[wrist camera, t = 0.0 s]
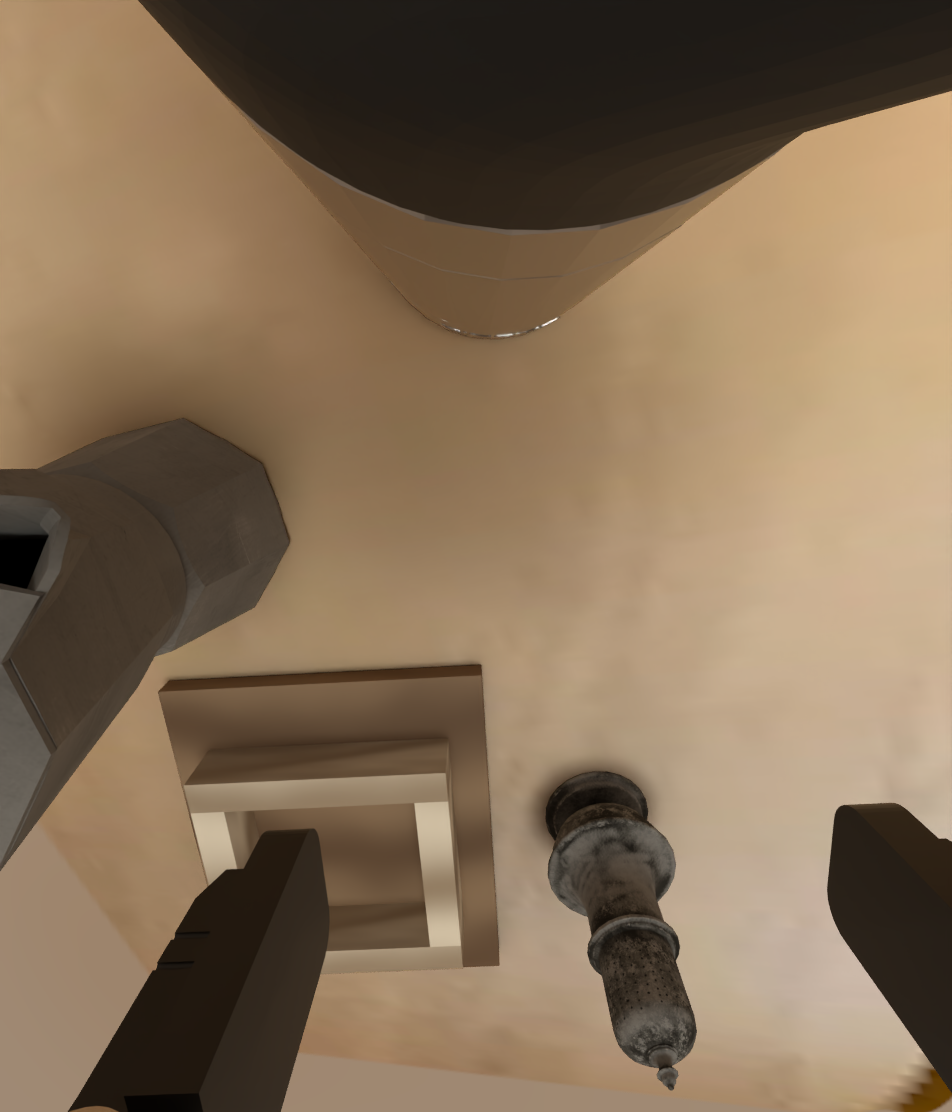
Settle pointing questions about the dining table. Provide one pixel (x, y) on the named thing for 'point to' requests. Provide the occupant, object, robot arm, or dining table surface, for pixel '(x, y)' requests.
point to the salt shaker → (623, 912)
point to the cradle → (353, 801)
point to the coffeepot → (114, 588)
